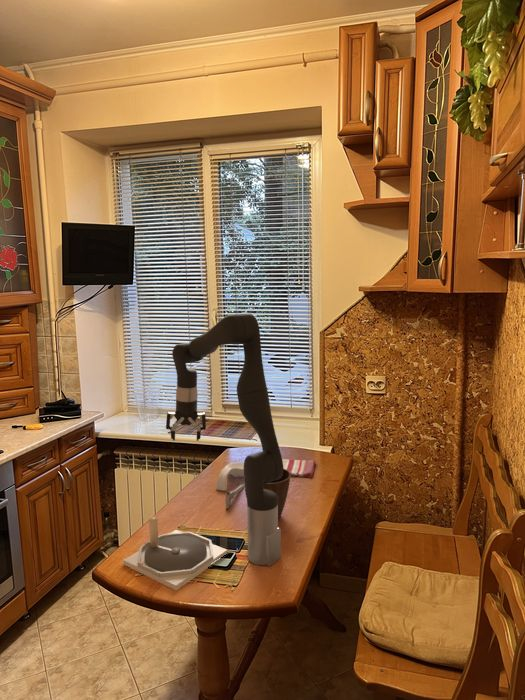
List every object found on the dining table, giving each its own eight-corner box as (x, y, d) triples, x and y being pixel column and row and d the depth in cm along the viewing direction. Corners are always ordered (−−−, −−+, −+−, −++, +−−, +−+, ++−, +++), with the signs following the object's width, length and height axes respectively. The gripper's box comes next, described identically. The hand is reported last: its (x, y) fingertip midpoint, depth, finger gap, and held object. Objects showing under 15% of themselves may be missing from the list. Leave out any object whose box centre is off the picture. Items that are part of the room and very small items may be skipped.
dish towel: (312, 479, 216) (312, 473, 216) (257, 475, 220) (257, 470, 220) (315, 464, 233) (315, 458, 232) (264, 461, 237) (264, 455, 236)
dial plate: (227, 554, 159) (227, 545, 159) (176, 590, 142) (175, 580, 141) (176, 533, 172) (175, 525, 172) (123, 564, 154) (123, 555, 154)
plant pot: (254, 530, 174) (253, 485, 171) (243, 510, 188) (243, 468, 185) (296, 524, 178) (296, 480, 175) (283, 505, 192) (282, 464, 189)
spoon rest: (233, 468, 229) (232, 452, 227) (257, 471, 224) (257, 455, 223) (208, 489, 207) (207, 472, 206) (235, 493, 203) (234, 476, 201)
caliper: (228, 509, 189) (228, 493, 188) (225, 509, 190) (225, 493, 188) (244, 486, 209) (244, 472, 208) (242, 486, 209) (241, 471, 208)
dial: (218, 546, 161) (217, 516, 159) (184, 578, 144) (183, 545, 143) (168, 533, 169) (167, 505, 167) (131, 563, 152) (129, 531, 151)
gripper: (165, 400, 180) (165, 443, 184) (206, 401, 182) (205, 444, 185) (167, 393, 187) (166, 435, 191) (206, 394, 189) (205, 436, 193)
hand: (185, 439), depth 188 cm, fingers open, 8 cm apart
